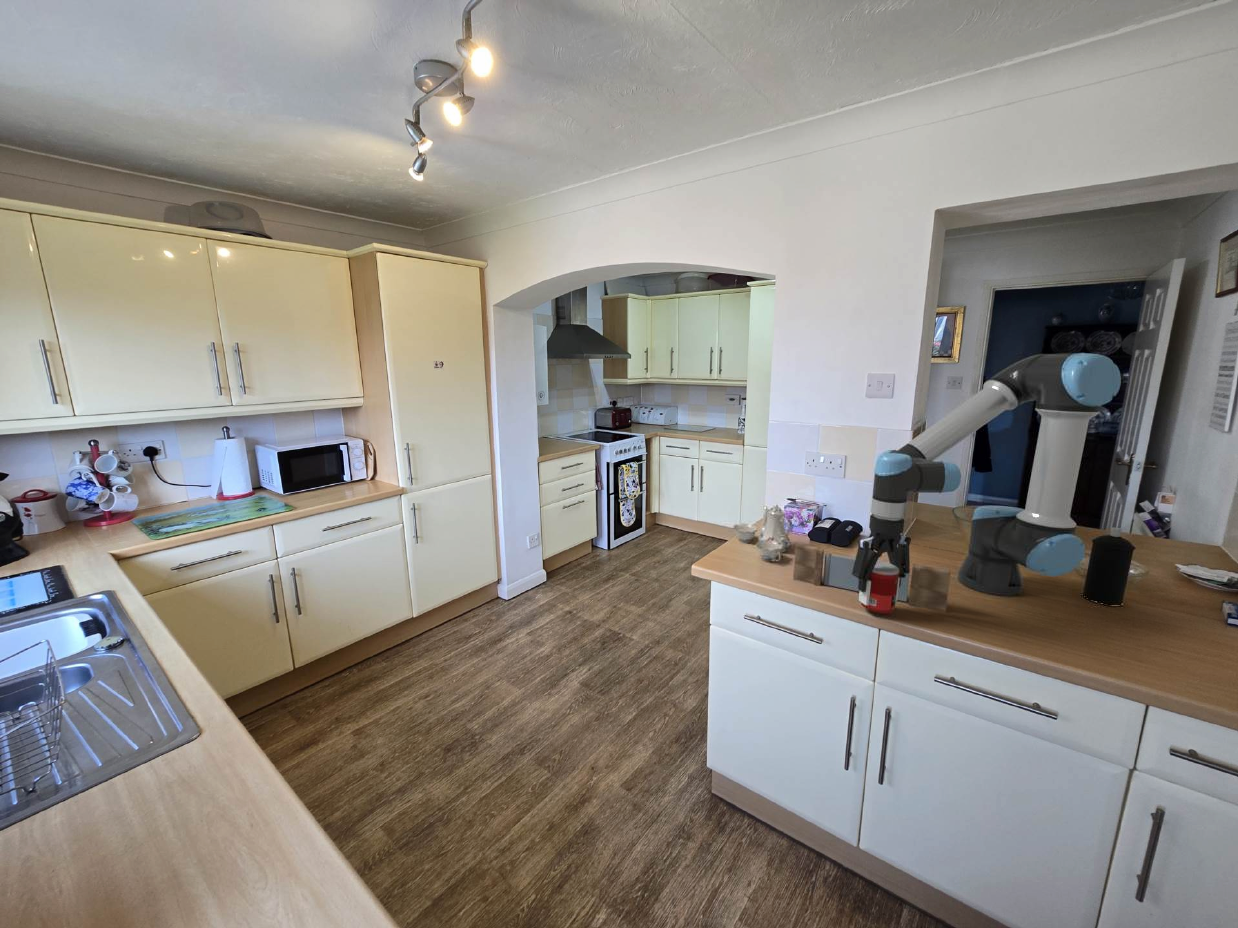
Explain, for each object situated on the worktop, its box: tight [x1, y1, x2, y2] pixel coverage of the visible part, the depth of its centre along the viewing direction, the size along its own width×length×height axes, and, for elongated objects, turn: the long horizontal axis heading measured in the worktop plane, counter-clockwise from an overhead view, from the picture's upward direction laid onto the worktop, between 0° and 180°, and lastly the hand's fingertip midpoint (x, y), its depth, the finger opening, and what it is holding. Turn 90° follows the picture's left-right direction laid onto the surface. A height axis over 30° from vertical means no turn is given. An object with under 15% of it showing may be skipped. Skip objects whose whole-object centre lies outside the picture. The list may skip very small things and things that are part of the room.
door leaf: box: [822, 552, 911, 602], centre depth 137 cm, size 21×2×9 cm, turn 58°
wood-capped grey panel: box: [792, 543, 952, 613], centre depth 137 cm, size 38×3×10 cm, turn 58°
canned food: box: [860, 560, 899, 614], centre depth 127 cm, size 8×8×11 cm
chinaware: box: [733, 503, 791, 563], centre depth 170 cm, size 28×17×17 cm, turn 16°
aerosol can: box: [1081, 527, 1136, 606], centre depth 131 cm, size 8×8×20 cm
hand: (877, 600), depth 127 cm, fingers closed on canned food, 8 cm apart
